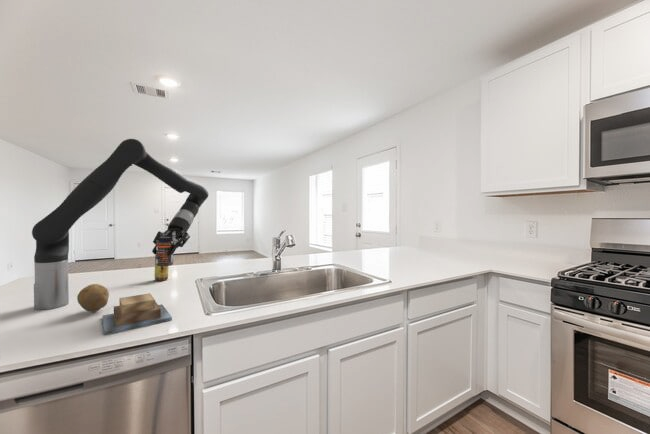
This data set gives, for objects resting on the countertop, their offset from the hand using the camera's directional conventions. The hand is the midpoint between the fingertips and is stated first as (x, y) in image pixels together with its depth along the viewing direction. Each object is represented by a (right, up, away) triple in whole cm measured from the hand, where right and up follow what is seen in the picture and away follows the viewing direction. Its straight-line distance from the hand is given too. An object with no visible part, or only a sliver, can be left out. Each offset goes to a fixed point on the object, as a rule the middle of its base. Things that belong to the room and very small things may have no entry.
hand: (161, 253), depth 110 cm
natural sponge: (-20, -20, -8) cm, 29 cm away
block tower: (0, -20, -15) cm, 25 cm away
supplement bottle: (0, -5, +2) cm, 5 cm away
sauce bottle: (-21, -19, +37) cm, 46 cm away
